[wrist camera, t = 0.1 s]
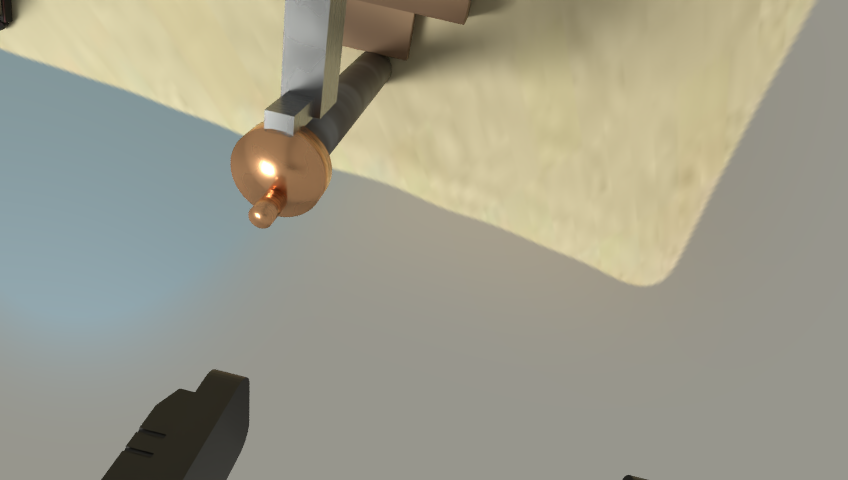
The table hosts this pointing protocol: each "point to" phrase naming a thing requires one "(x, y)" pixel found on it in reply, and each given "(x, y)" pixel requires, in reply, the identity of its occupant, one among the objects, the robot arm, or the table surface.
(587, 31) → the table surface
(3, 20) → the thin black curved strips
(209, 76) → the table surface
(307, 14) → the bar
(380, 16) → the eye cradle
